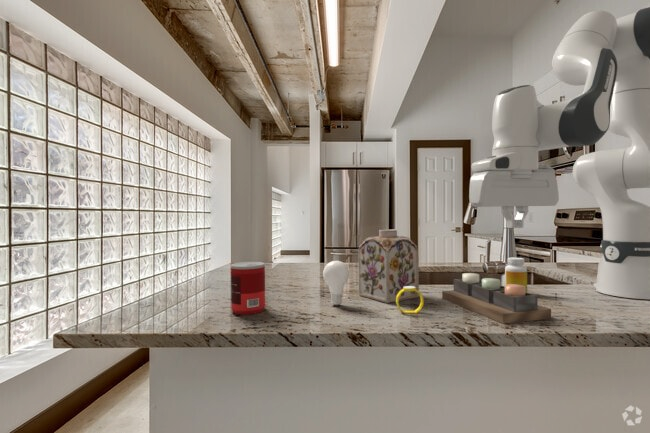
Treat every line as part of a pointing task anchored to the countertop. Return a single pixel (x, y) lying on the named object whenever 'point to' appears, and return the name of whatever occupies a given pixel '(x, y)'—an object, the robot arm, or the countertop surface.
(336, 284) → the lightbulb
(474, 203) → the robot arm
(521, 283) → the supplement bottle
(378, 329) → the countertop surface
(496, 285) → the sage button
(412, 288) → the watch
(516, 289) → the terracotta button
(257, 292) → the canned food
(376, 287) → the decorative jar
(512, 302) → the button board
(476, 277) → the cream button
